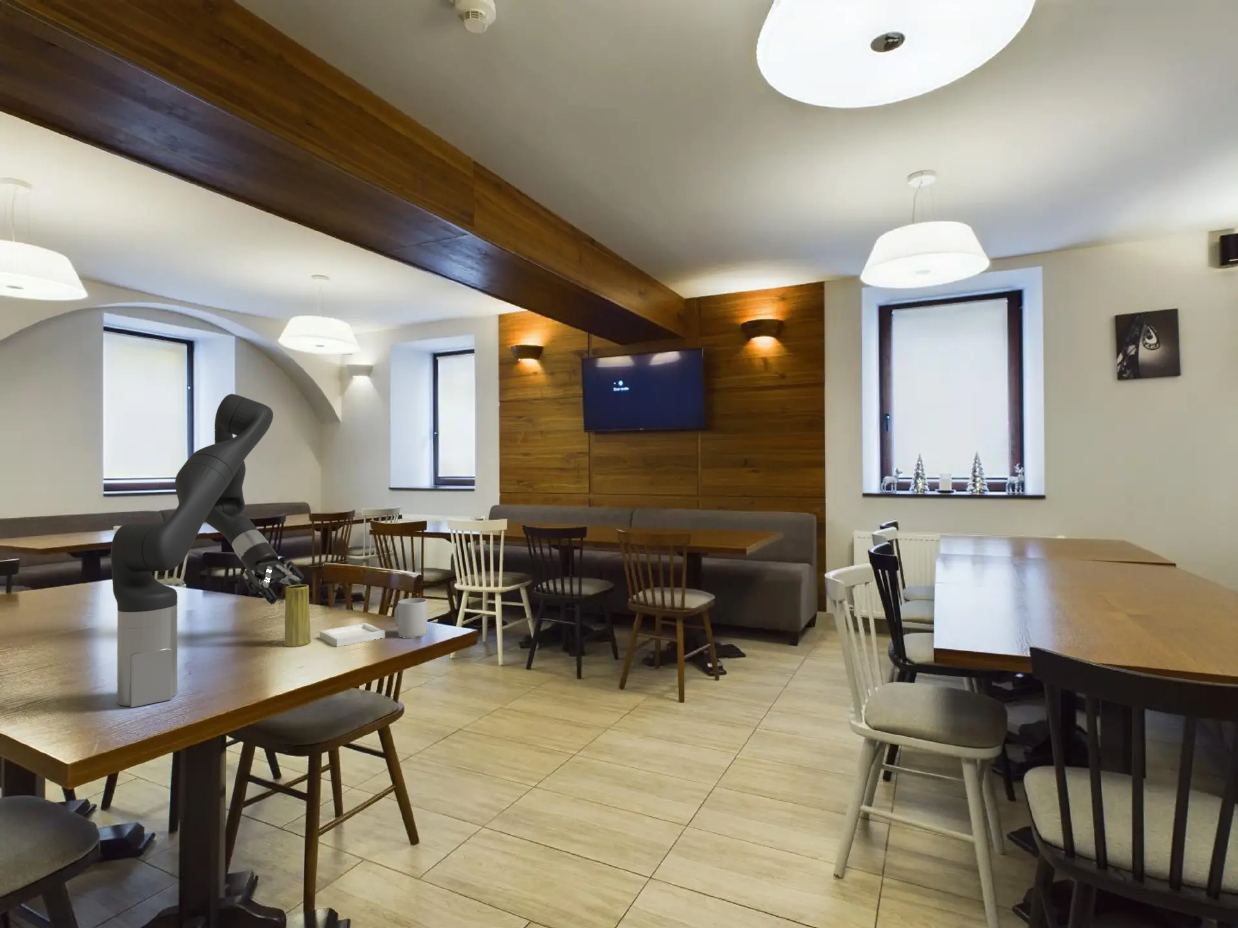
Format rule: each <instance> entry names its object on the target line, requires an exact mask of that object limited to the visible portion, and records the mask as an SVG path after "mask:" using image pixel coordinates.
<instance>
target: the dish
mask: <svg viewBox="0 0 1238 928" xmlns="http://www.w3.org/2000/svg"><path fill="white" fill-rule="evenodd" d="M380 638H382V639H385V638H386V630H384V629H382V628H379V627H377V626H374V625H371V624H370V623H367V622H363V623H358V624H352V625H346V626H341V627H334V628H328V629H324V630H322V629H321V630H319V639H321V640H323V641H325V642H327V643H329V644H330V645H332V646H334V647H337V648H338V647H344V645H345V646H349V645H353V643H355V644H360V642H361V643H365V642H364V641H366V642H370V641H375V640H374V639H376V640H381V639H380Z"/></svg>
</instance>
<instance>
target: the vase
mask: <svg viewBox="0 0 1238 928" xmlns="http://www.w3.org/2000/svg"><path fill="white" fill-rule="evenodd" d="M284 591H285V594H284V595H285V597H284V598H285V599H284V600H285V601H284V603H285V611H284V640H283V646H284V647H288V648H296V647H303V646H307V645H309V644H310V643H311V642H312V640H311V616H310V587H309V584H302V585H291V586H290V585H287V586H285V590H284Z"/></svg>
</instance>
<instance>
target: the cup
mask: <svg viewBox="0 0 1238 928" xmlns="http://www.w3.org/2000/svg"><path fill="white" fill-rule="evenodd" d="M393 614H394V623H395V626H397V633H398V634H397V635H398V637H399V636H401V637H405V638H404V639H408V638H409V639H412V638H411V637H417V636H423V635H425V634H426V635H427V633H428V599H426V598H422V597H421V598H420V597H419V598H418V597H411V598H403V599H401V600H398V601H397V605H396V607H395V608H394V613H393ZM426 635H425V636H426ZM401 637H400V638H401ZM423 637H424V636H423Z"/></svg>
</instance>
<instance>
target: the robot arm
mask: <svg viewBox="0 0 1238 928" xmlns="http://www.w3.org/2000/svg"><path fill="white" fill-rule="evenodd" d="M273 419H274V412H273V409H272V408H271V406H270V407H269V406H268V405H266V404H264V403H261V402H259V401H255V400H253V399H250V398H248V397H245V396H242V395H239V394H234V393H230V394H227V395H225V396H224V397H223V399H222V400H221V401H220V404H219V405H218V408H217V410H216V413H215V418H214V443H213V444H210V445H207V446H205V447H202V448H200V449H198V450H196V451H194V453H192V454H191V455H190V456H189V457H188V459H187V460H186V462H185V463H183V465H182V467H181V468H180V469H179V471H178V473H177V474H176V477H175V480H174V487H175V494H176V497H177V501H178V505H177V507H176V509H175V510H174V512H173V513H172V515H171V516H170V517H169V518H168V519H166V520H164V521H163V522H162V521H161V522H157V521H156V522H129V523H125V524H123V525H122V526H120V527H119V528H117V530H116V531H115V533H114V534H113V535H114V536H113V538H112V541H111V544H110V545H111V547H110V563H111V577H112V578H111V579H112V592H113V596H114V599H115V602H116V604H117V609H116V610H117V625H116V627H117V632H116V633H117V635H116V637H117V638H116V642H117V648H116V649H117V650H116V652H117V653H116V655H117V657H116V658H117V659H116V661H117V662H116V663H117V664H116V668H117V669H116V670H117V671H116V672H117V675H116V679H117V681H116V682H117V684H116V685H117V686H116V688H117V690H116V691H117V692H116V695H117V697H116V698H117V700H116V701H117V704H118V705H120V706H125V707H127V706H128V707H130V708H135V707H141V706H145V705H150V704H155V703H161V702H164V701H169V700H172V699H173V697H174V696H176V695H177V693H178V592H177V590H176V589H174V587H171V586H169V585H166V584H163V583H162V582H160V581H159V580H157V579H156V578H155V577H154V575H153V572H167V571H170V570H173V569H174V570H175V569H176V568H178V566H180V564H181V563H182V562H183V561H184V560H185V558H186V557H187V555H188V554H189V552H190V550H191V549H192V546H193V545H194V542H195V540H196V538H197V536H198V534H199V532H200V530H201V528H202V526H203V524H204V523H206V524H207V525H209V526H210V527H212V528H213V529H214V530H216V531H217V532H218V533H219V534H221V535H223V536H224V537H225V539H226V540H227V542H228V543H229V545H230V546H231V547H232V549H233V551H234V553H235V554H236V556H237V557H238V559H239V561H241V563H242V565H244V568H246V569H245V570H244V572H243V574H242V575H241V579H242V580H243V582H244V584H245V585H246V586H247V588H248V590H249V592H250V593H251V594H256V593H259V594H260V595H262V596H263V598H264V599H265V600H266V602H268V603H269V604H270V605H274V604H276V603H277V601H278V596H277V595H276V593H275V592H274V590H273V589H272V588H271V587H269V586H270V585H271V584H274V583H281V584H283V585H287V586H291V585H303V584H302V582H301V581H302V580H303V579H304V577H305V576H304V574H303V573H302V572H301V571H300V569H299V568H298V567H297V566H296V565H295V563H294V561H291V560H289V561H288V562H287V563H285V564H284V563H282V562H280V560H279V556H278V555H279V554H278V553H277V552H276V551H275V550H274V548H273V547H272V545H271V544H270V542H268V540H267V538H265V536H264V535H263V534H262V533H261V532H260V531H259V530H258V528H257V527H256V526H255V524H254V522H253V521H251V519H250V517H249V518H248V517H247V516H242V515H241V514H242V513H243V511H244V510H245V509H246V508H245V507H246V504H245V499H244V492H243V486H244V480H245V477H246V472H247V471H246V462H245V459H247V457H248V455H249V454H250V453H251V452H252V450H254V448H255V447H256V446H257V445H258V443H259V442H260V441H261V440H262V438H263V437H264V436H265V434H266V433H267V432H268V430H269V429H270V427H271V425H272V422H273ZM239 515H240V516H239ZM285 575H286V576H285ZM284 576H285V577H284Z"/></svg>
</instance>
